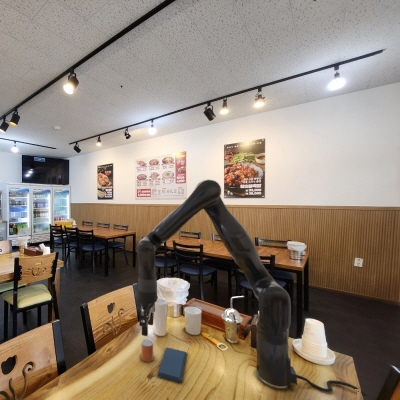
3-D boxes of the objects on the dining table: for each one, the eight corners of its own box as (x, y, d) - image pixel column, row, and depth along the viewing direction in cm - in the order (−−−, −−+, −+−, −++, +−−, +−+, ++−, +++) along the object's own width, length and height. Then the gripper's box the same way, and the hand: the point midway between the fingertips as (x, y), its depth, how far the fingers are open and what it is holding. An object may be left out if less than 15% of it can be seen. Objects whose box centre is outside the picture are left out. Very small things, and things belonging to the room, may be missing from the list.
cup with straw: (224, 332, 107) (224, 290, 108) (245, 339, 102) (245, 294, 102) (219, 341, 101) (218, 295, 101) (242, 349, 95) (241, 301, 96)
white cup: (203, 329, 110) (203, 309, 110) (199, 337, 103) (199, 315, 104) (187, 325, 114) (186, 305, 114) (182, 332, 108) (182, 311, 108)
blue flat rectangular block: (186, 354, 92) (186, 351, 92) (181, 383, 77) (181, 379, 77) (166, 349, 95) (166, 346, 95) (157, 376, 80) (157, 372, 80)
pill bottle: (154, 355, 91) (154, 340, 91) (151, 363, 87) (151, 347, 87) (143, 352, 93) (143, 338, 93) (139, 359, 88) (139, 344, 88)
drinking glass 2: (166, 330, 110) (166, 298, 110) (168, 338, 103) (168, 304, 103) (152, 329, 110) (152, 298, 111) (153, 337, 104) (153, 304, 104)
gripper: (152, 296, 82) (152, 341, 82) (160, 283, 95) (161, 323, 95) (132, 293, 85) (132, 337, 85) (143, 281, 98) (143, 319, 98)
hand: (147, 329), depth 90 cm, fingers open, 8 cm apart
